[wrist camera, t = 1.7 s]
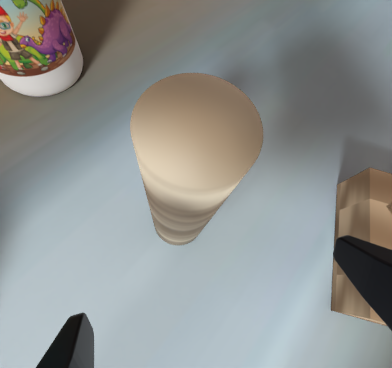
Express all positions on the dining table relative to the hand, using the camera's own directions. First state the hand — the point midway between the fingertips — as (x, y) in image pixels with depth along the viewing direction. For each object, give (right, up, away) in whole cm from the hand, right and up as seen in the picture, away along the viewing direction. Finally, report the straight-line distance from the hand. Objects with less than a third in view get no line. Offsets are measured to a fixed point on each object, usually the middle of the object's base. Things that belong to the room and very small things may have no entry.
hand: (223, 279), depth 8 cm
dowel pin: (-2, 0, +12) cm, 12 cm away
